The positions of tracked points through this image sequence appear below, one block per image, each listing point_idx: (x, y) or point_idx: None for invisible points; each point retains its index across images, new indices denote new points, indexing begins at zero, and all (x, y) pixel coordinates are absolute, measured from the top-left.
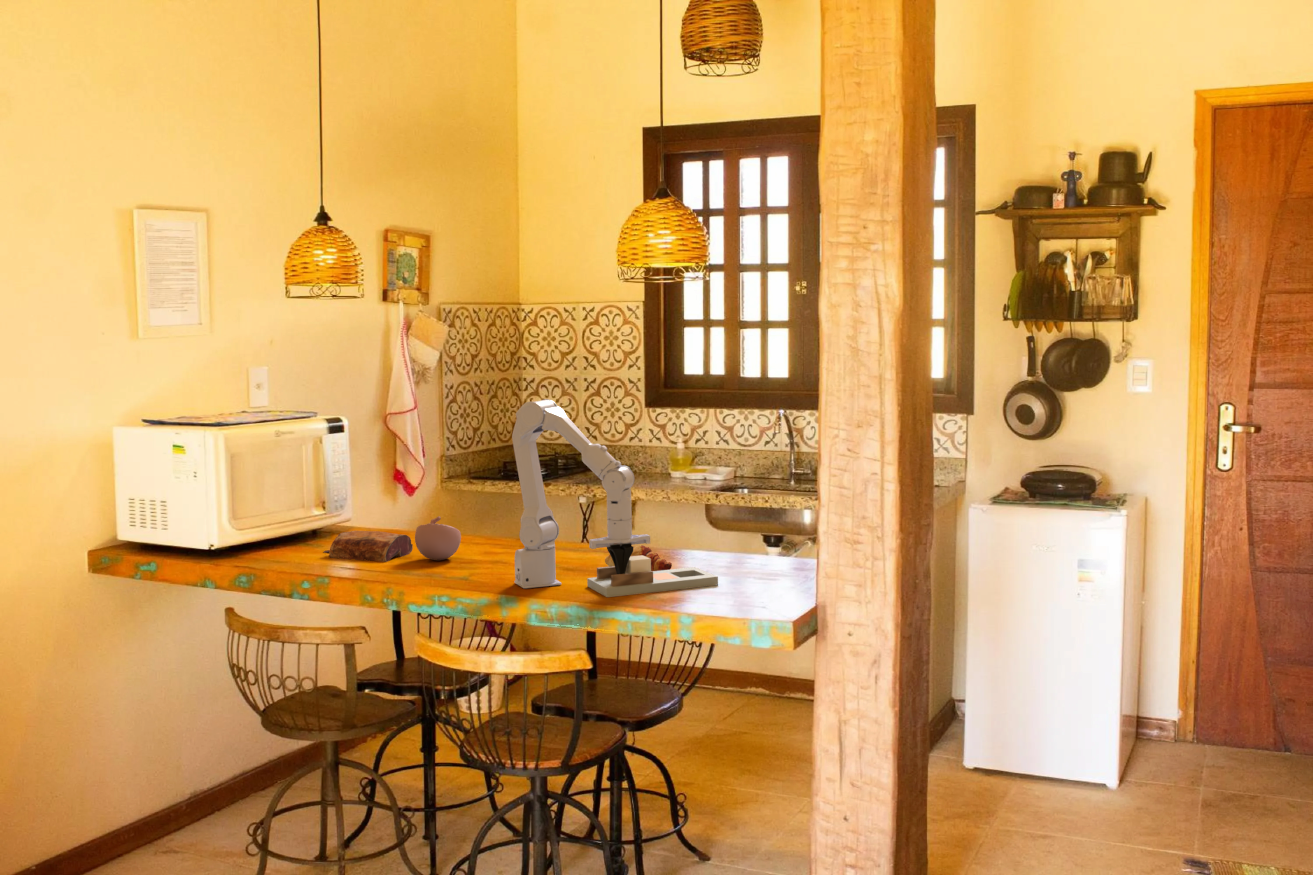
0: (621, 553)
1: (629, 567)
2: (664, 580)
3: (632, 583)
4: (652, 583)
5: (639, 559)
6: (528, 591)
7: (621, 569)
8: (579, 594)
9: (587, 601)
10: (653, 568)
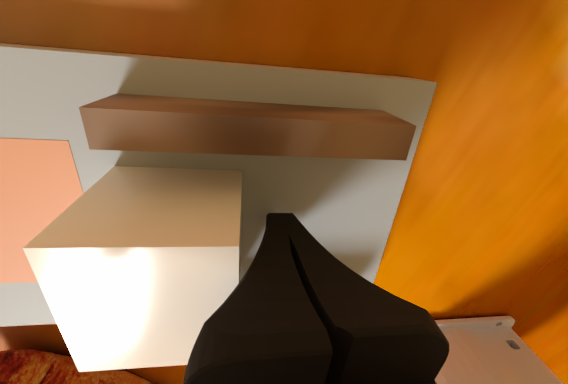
0: (345, 303)
1: (240, 235)
2: (23, 109)
3: (264, 104)
4: (130, 64)
5: (147, 260)
6: (522, 290)
7: (297, 231)
8: (452, 190)
9: (528, 43)
10: (49, 371)
